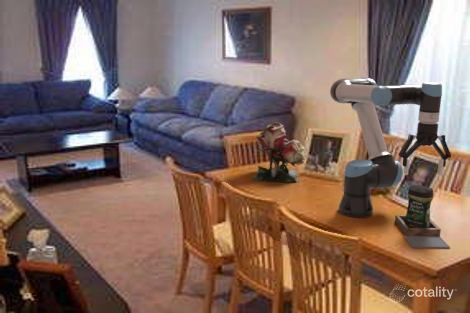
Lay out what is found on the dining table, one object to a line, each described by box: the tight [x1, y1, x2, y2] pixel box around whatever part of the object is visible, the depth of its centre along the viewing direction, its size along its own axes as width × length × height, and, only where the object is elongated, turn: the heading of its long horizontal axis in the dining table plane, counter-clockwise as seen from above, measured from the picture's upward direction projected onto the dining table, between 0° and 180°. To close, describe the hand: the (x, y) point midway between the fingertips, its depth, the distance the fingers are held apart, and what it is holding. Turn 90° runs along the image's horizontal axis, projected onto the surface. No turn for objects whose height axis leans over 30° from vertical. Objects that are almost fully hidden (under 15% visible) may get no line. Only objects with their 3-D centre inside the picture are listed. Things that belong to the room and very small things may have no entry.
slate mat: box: [403, 235, 451, 249], centre depth 195 cm, size 14×10×1 cm
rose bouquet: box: [252, 122, 308, 183], centre depth 277 cm, size 26×29×30 cm
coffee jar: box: [405, 184, 434, 228], centre depth 206 cm, size 10×8×19 cm
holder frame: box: [394, 214, 441, 237], centre depth 208 cm, size 13×15×3 cm
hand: (422, 174), depth 202 cm, fingers open, 13 cm apart
